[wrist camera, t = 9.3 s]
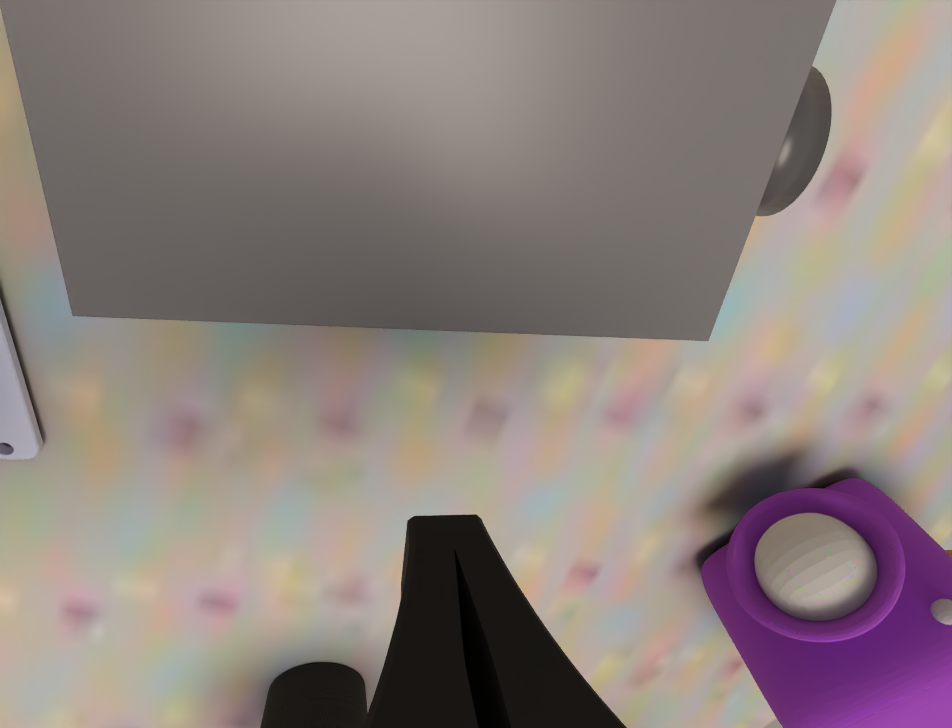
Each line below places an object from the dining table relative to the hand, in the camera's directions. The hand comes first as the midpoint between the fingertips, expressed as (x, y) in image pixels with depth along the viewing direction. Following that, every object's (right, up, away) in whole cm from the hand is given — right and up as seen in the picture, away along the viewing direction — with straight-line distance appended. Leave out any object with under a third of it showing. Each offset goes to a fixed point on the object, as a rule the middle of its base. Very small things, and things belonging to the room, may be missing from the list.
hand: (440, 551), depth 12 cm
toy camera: (+16, -5, +19) cm, 26 cm away
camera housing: (-1, +11, +5) cm, 13 cm away
